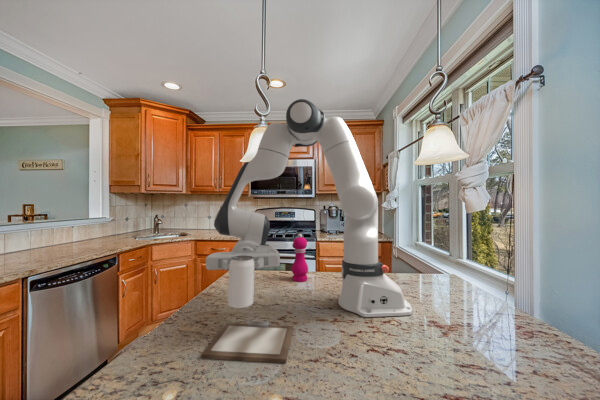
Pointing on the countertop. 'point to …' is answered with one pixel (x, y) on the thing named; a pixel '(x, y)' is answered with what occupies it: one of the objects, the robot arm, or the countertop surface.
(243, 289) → the can
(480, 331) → the countertop surface
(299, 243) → the pepper mill
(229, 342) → the clipboard
